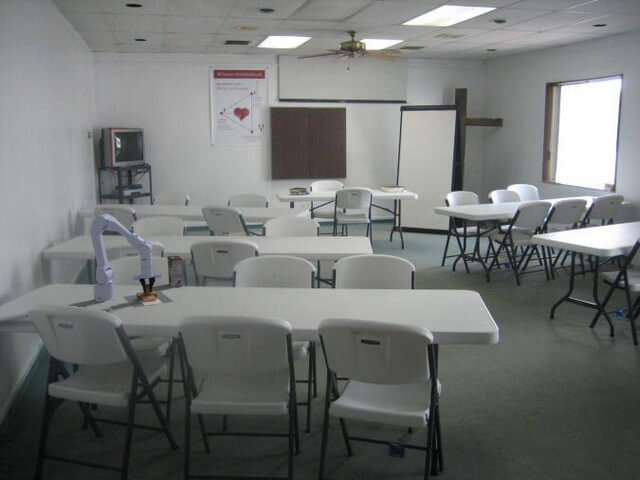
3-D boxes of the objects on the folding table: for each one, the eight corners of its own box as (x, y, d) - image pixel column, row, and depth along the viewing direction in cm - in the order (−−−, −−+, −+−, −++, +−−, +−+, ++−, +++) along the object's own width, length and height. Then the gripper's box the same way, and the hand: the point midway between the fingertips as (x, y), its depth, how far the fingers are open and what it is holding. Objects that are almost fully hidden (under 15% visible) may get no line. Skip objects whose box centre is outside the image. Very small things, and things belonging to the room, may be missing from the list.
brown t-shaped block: (137, 298, 315) (137, 287, 312) (136, 296, 317) (136, 285, 313) (157, 296, 320) (157, 285, 316) (155, 293, 321) (156, 282, 318)
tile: (143, 302, 310) (143, 299, 310) (141, 299, 316) (141, 296, 315) (155, 300, 313) (155, 297, 313) (153, 297, 318) (153, 295, 318)
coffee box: (168, 284, 349) (167, 256, 346) (179, 282, 351) (178, 255, 348) (171, 287, 340) (170, 259, 338) (183, 286, 343) (182, 258, 340)
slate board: (134, 308, 302) (133, 307, 302) (122, 297, 320) (122, 296, 320) (173, 302, 312) (173, 301, 312) (160, 292, 331) (160, 291, 330)
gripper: (159, 263, 319) (160, 289, 322) (130, 266, 313) (131, 292, 315) (162, 266, 313) (163, 292, 316) (133, 269, 307) (134, 295, 309)
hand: (147, 292), depth 315 cm, fingers closed on brown t-shaped block, 2 cm apart
